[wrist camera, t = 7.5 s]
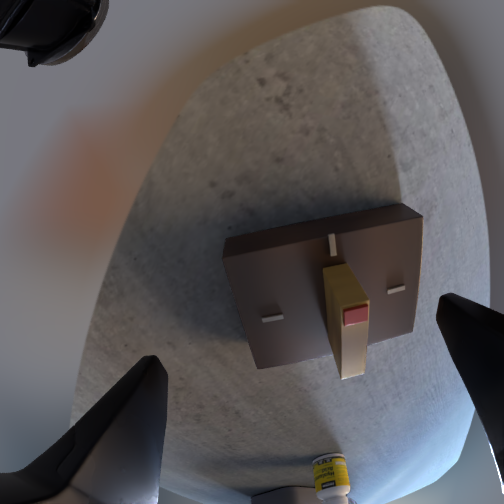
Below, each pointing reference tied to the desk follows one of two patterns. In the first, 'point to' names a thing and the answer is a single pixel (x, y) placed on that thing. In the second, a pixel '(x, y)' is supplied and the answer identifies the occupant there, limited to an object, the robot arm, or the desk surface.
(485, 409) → the robot arm
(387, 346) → the desk surface
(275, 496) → the streaming box
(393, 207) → the block
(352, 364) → the red-tabbed yellow block
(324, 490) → the supplement bottle
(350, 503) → the vase
